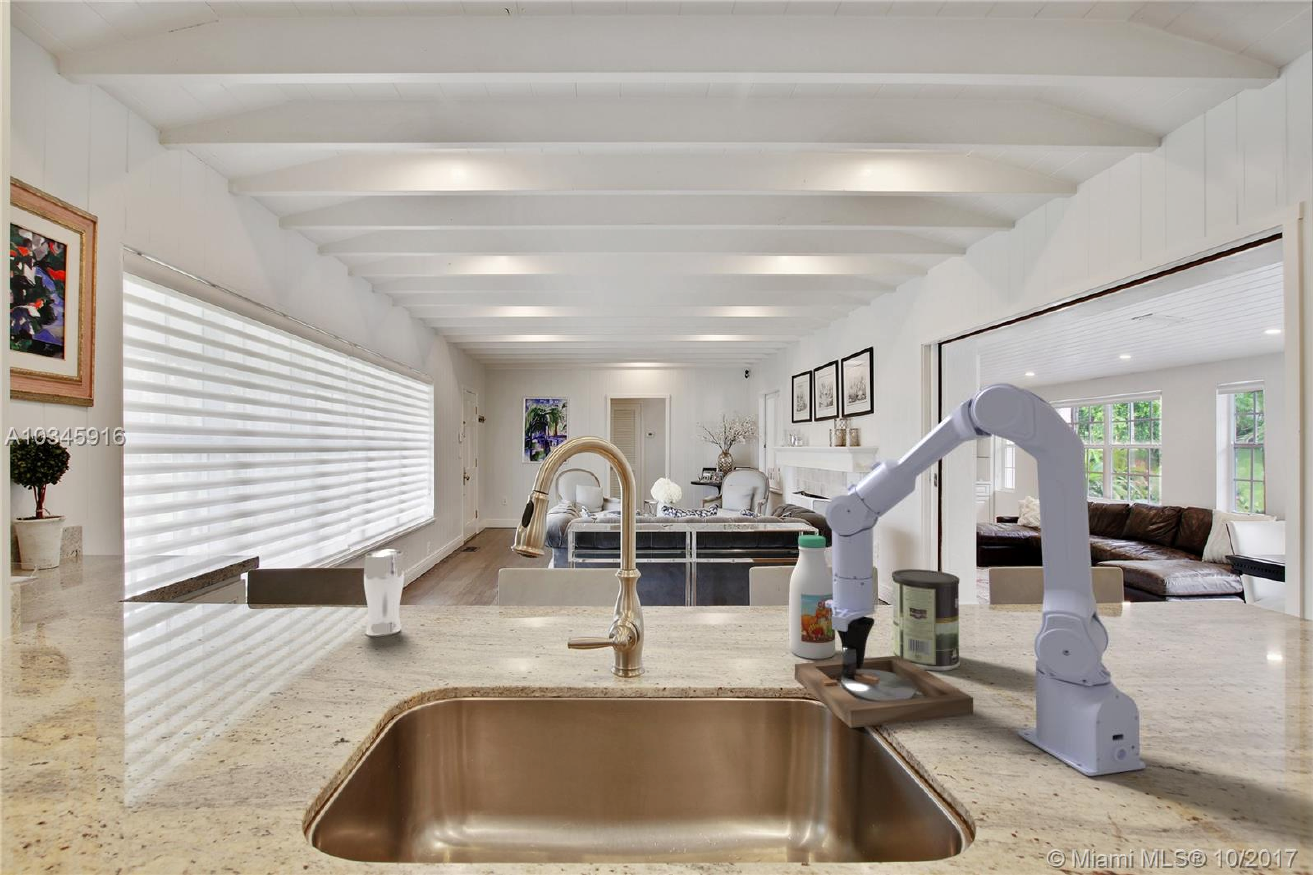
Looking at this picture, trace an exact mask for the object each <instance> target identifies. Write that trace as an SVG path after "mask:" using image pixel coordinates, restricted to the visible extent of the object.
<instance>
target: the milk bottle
mask: <svg viewBox="0 0 1313 875" xmlns="http://www.w3.org/2000/svg"><path fill="white" fill-rule="evenodd" d="M797 539H798V540H797V543H798V549H799V555H798V558H797V563H796V564H795V567H794V569H793V571H792V573H791V577H790V579H789V580H790V581H789V592H788V593H789V596H788V598H789V599H788V601H789V602H788V606H789V607H788V645H789V646H788V648H789V651H790V652H791V653H792V654H794V655H795V656H798V657H801V658H804V659H811V660H812V659H813V660H825V659H829V658H832V657H833V656H834V655H835V653H836V630H833V629H832V615H833V612H832V608H829V607H825V602H826V601H827V600H833V574H832V572H831V571H830V568H829V566H828V563H827V561H826V560H827V559H826V556H825V551H826V543H827V541H826V540H827V539H826V538H825V537H824V536H823V535H816V534H815V535H812V534H804V535H799V536H798V538H797Z"/></svg>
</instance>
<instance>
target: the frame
mask: <svg viewBox="0 0 1313 875" xmlns="http://www.w3.org/2000/svg"><path fill="white" fill-rule="evenodd" d="M860 669H872V670H881V671H886V672H890V673H894V674H897V675H900V676H902V677H904V678H907V679H908V680H910V681H911V682H912V683H913V684H914V685H915V687H916V692H918V693H920V694H921V695H923V696H924V697H916V698H912V699H902V700H892V701H882V702H872V703H861V702H859V701H858V700H857V699H856V698H854V697H853V696H852V695H850V694H849V693H848V692H847V691H845V690H844V689H843V688H841V685H839V681H837V680H839V679H840V680H841V677H842V660H841V659H839V660H828V661H816V662H815V661H814V662H806V663H805V662H803V663H795V664H794V679H795V681H797V682H798V683H799V684H800V685H801V686H802V687H804V688H805V687H806V688H805V689H806V690H807V691H808V693H809V692H810V694H812V695H813V696H814V697H815V698H816V699H817V700H818V701H819V702H820V703H822V704H823V705H824V706H826V708H828V709H829V710H830V711H831V712H832V713H833V714H834V715H835V716H837V717H838V719H840V720H841V721H842V722H844V723H845V725H847V726H848V727H849V728H850V729H853V728H862V727H863V728H865V727H869V726H870V727H871V726H879V725H880V726H881V725H891V724H900V723H908V722H916V721H917V722H918V721H927V720H934V719H945V718H954V717H960V716H961V717H963V716H971V715H972V716H973V715H974V697H972V696H971V695H969V694H968V693H967V692H964V691H962V690H961V689H959V688H957V687H955V686H954V685H952V684H950V683H948V682H947V681H945V680H943V679H941V678H940V677H938V676H936V675H934V674H933V673H931V672H928V670H925V669H922V668H920V667H918V666H917V665H915V664H913V663H911V662H910V661H908V660H906V659H904V658H903V657H901V656H893V655H889V656H877V657H864V662H863V665H862V667H861V668H860ZM857 670H858V669H857Z"/></svg>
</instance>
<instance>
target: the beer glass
mask: <svg viewBox="0 0 1313 875" xmlns="http://www.w3.org/2000/svg"><path fill="white" fill-rule="evenodd" d="M364 557H365V558H364V567H363V568H364V569H363V586H364V587H363V588H364V592H365V598H366V604H367V610H368V611H367V613H368V614H367V615H368V617H367V624H366V628H365V634H366V635H367V637H368V636H369V637H387V636H391V635H394V634H397V633H399V632H401V630H402V626H401V620H400V604H401V599H402V593H403V588H404V580H405V565H404V563H405V562H404V552H403V550H399V549H383V550H375V551H373V550H372V551H369V552H366V553H365V556H364Z"/></svg>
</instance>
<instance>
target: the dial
mask: <svg viewBox="0 0 1313 875" xmlns="http://www.w3.org/2000/svg"><path fill="white" fill-rule="evenodd" d="M841 647H842V648H841V649H842V650H841V652H842V653H841V654H842V655H841V656H842V657H841V658H842V677H841V679H840V687H841V688H843V689H844V690H845V691H847V692H848V693H849V694H850V695H852V696H853V697H854V698H856V699H857V700H858V701H859V702H861V703H872V702H882V701H892V700H902V699H912V698H917V690H916V687H915V685H914V684H913V683H912V682H911V681H910V680H908V679H907V678H904V677H902V676H900V675H897V674H894V673H890V672H886V671H881V670H872V669H858V670H857V648H856V647H854V646H850V645H844V646H842V645H841Z"/></svg>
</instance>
